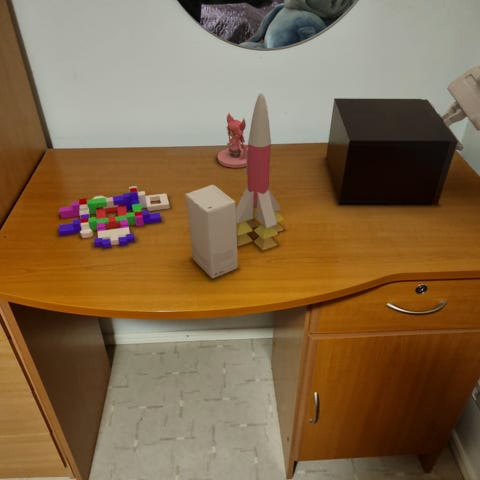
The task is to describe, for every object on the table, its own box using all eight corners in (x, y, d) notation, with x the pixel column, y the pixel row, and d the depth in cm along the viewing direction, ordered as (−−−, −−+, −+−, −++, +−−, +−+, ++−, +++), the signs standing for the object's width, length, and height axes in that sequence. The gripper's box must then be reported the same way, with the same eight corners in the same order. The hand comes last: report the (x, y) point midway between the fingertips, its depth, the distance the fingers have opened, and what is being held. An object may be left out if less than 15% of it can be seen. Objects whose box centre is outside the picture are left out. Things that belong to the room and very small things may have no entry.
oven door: (423, 157, 132) (439, 99, 121) (450, 204, 116) (472, 141, 104) (406, 158, 133) (421, 99, 121) (431, 204, 116) (450, 141, 104)
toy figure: (210, 160, 131) (208, 116, 123) (233, 148, 137) (233, 105, 128) (237, 171, 127) (237, 126, 118) (260, 158, 132) (261, 114, 124)
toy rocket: (294, 239, 106) (308, 97, 84) (247, 255, 101) (250, 111, 80) (264, 213, 113) (270, 77, 92) (219, 227, 108) (215, 88, 87)
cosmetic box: (238, 269, 98) (238, 202, 87) (210, 280, 95) (206, 212, 84) (217, 248, 103) (214, 182, 92) (190, 258, 100) (184, 192, 89)
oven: (405, 158, 133) (421, 98, 121) (429, 205, 116) (450, 140, 104) (325, 158, 133) (334, 98, 121) (338, 204, 116) (349, 140, 104)
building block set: (59, 254, 101) (53, 236, 98) (61, 203, 115) (56, 187, 112) (177, 238, 106) (175, 220, 102) (165, 191, 120) (163, 174, 117)
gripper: (478, 51, 112) (424, 95, 119) (510, 85, 98) (447, 132, 105) (490, 71, 115) (438, 113, 122) (524, 107, 101) (462, 151, 108)
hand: (442, 122), depth 114 cm, fingers closed, pressing on oven door
